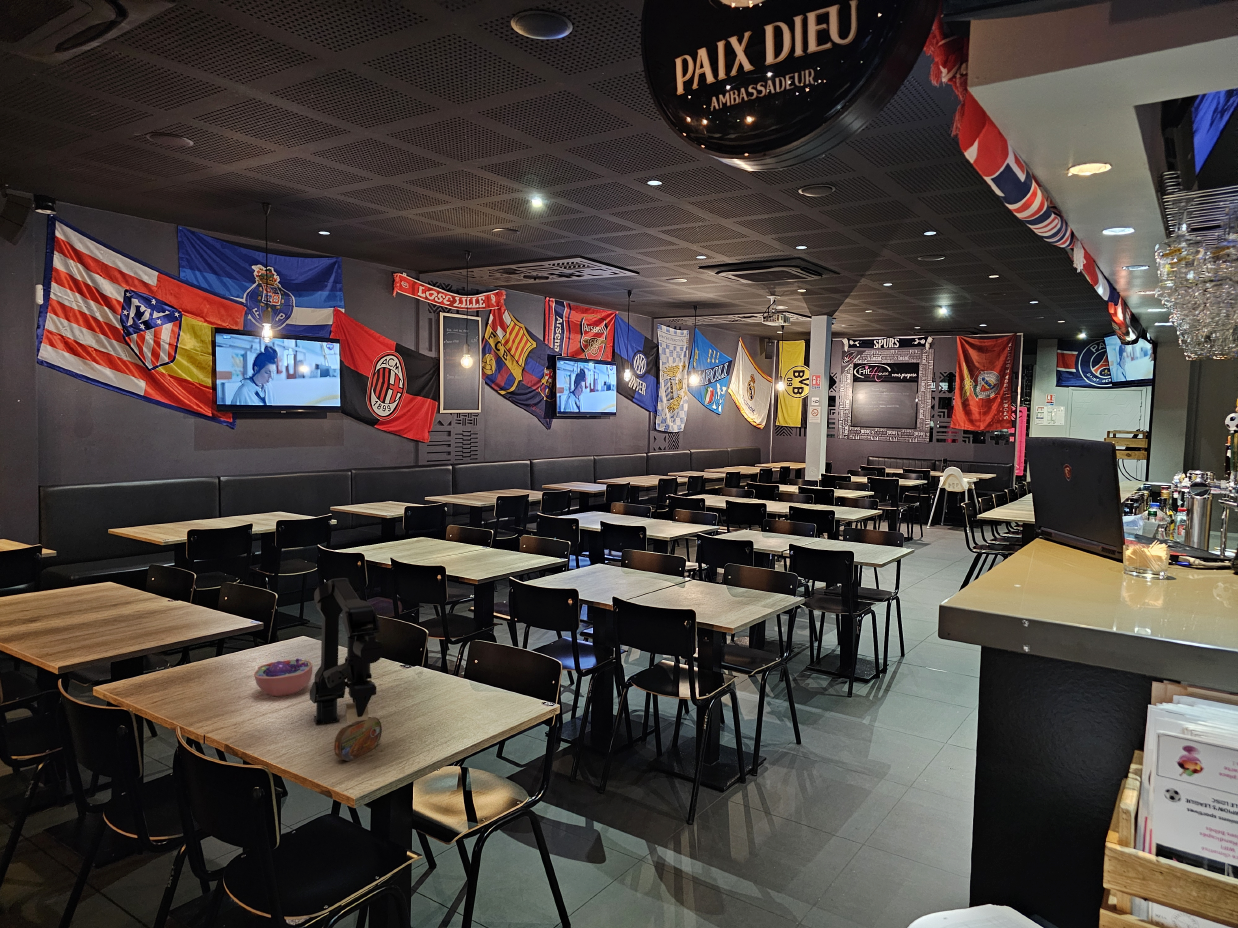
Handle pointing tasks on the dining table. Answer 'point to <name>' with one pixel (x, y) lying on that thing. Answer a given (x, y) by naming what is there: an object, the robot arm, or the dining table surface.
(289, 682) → the cell model
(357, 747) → the tin
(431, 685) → the dining table surface
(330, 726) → the dining table surface
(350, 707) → the oak block
